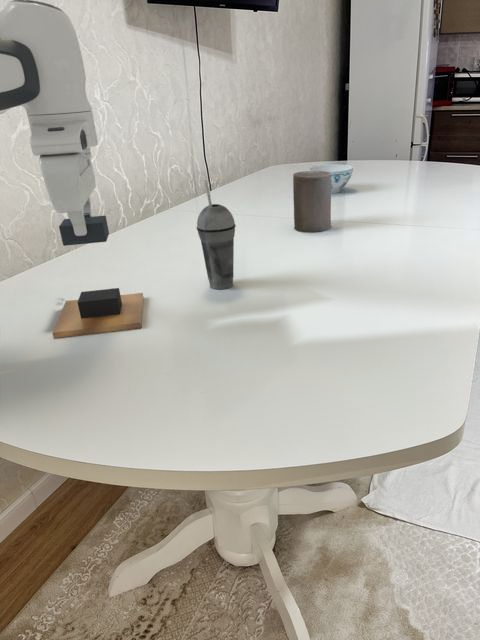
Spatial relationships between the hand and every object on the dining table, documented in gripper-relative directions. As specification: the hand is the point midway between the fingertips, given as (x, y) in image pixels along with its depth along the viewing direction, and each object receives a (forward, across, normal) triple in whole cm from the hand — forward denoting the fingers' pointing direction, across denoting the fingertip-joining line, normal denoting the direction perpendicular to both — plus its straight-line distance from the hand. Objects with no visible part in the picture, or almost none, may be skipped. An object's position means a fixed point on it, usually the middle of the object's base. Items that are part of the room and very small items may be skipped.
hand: (84, 229), depth 82 cm
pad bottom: (+15, -2, 0) cm, 15 cm away
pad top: (+2, 0, 0) cm, 2 cm away
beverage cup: (+16, -12, +22) cm, 29 cm away
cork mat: (+16, -2, 0) cm, 16 cm away
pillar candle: (+16, -48, +49) cm, 70 cm away
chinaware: (+16, -92, +67) cm, 115 cm away
